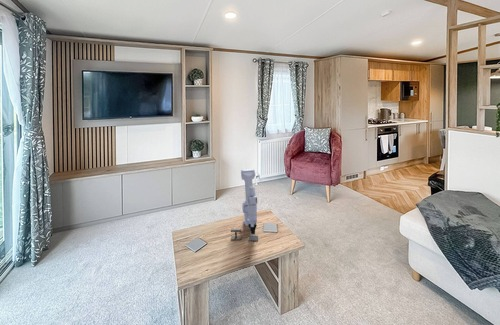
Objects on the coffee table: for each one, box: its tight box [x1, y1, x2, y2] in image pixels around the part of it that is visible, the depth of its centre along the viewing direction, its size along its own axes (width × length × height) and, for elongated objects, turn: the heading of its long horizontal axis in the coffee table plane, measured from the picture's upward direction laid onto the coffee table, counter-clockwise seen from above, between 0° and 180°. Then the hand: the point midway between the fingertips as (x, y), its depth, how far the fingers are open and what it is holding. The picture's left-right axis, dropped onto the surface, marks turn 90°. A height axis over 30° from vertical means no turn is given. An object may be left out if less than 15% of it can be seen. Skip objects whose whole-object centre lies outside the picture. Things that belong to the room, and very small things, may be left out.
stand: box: [230, 228, 242, 241], centre depth 182 cm, size 5×7×7 cm
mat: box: [248, 235, 259, 242], centre depth 182 cm, size 6×6×1 cm
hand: (253, 231), depth 180 cm, fingers closed on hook, 5 cm apart
